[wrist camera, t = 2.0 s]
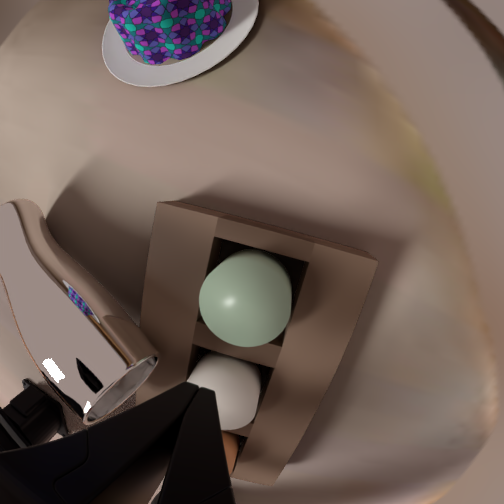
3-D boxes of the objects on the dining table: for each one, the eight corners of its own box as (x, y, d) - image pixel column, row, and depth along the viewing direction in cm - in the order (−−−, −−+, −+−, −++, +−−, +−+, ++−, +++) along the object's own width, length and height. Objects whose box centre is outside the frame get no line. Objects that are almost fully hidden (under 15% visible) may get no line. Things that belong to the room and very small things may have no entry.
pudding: (295, 1, 14) (293, -47, 9) (178, 121, 17) (138, 98, 12) (179, -43, 14) (157, -77, 9) (83, 55, 17) (43, 35, 12)
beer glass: (-36, 258, 13) (65, 440, 10) (2, 179, 14) (124, 363, 11) (22, 269, 20) (124, 407, 17) (60, 207, 20) (179, 343, 18)
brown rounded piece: (233, 459, 20) (226, 484, 17) (182, 443, 20) (171, 466, 17) (245, 428, 19) (238, 455, 16) (188, 410, 19) (175, 435, 16)
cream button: (252, 409, 18) (246, 437, 15) (191, 391, 18) (178, 416, 16) (270, 361, 17) (265, 387, 14) (201, 340, 18) (186, 363, 15)
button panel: (274, 465, 21) (272, 486, 18) (146, 426, 22) (135, 443, 19) (367, 252, 16) (378, 261, 14) (175, 200, 18) (157, 202, 15)
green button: (279, 332, 17) (276, 356, 14) (207, 311, 17) (192, 331, 14) (301, 261, 16) (302, 275, 13) (223, 240, 16) (208, 249, 13)
